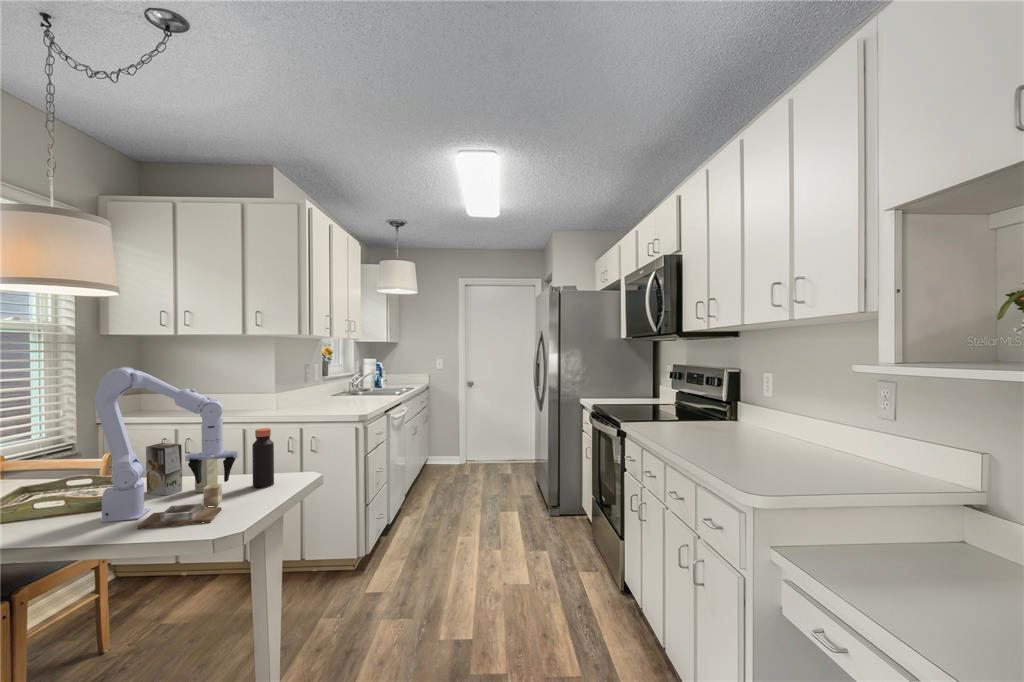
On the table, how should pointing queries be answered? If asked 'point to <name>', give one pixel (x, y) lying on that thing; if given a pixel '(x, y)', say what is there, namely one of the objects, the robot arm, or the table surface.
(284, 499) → the table surface
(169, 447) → the coffee box
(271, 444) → the bottle
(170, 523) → the socket stand
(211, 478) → the skincare box
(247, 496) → the table surface
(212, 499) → the peg
